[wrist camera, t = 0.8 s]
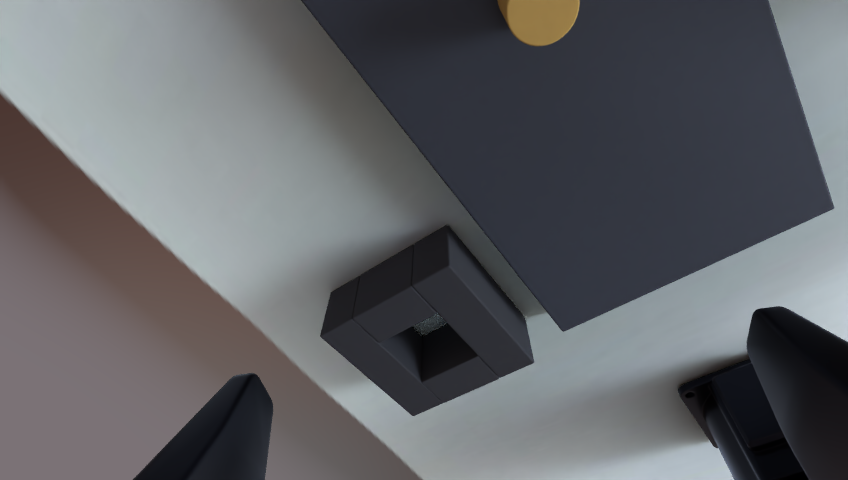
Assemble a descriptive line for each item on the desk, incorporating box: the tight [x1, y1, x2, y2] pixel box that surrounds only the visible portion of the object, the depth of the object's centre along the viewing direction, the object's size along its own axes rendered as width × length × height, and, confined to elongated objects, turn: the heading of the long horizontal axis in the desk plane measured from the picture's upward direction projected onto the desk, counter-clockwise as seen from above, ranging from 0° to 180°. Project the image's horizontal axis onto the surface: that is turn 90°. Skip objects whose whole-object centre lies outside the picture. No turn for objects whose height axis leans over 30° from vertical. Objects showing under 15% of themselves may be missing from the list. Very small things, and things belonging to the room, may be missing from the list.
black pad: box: [320, 225, 534, 416], centre depth 25 cm, size 7×7×3 cm
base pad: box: [301, 0, 834, 331], centre depth 18 cm, size 20×12×4 cm, turn 36°
